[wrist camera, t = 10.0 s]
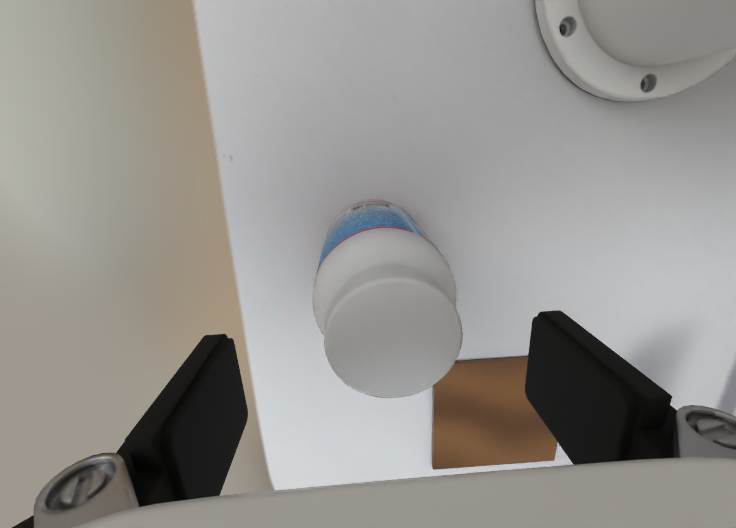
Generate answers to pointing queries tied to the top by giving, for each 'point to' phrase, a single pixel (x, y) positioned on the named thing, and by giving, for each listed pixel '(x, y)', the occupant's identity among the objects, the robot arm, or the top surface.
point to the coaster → (487, 416)
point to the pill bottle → (385, 302)
